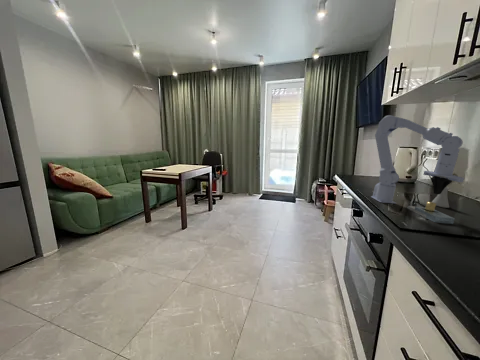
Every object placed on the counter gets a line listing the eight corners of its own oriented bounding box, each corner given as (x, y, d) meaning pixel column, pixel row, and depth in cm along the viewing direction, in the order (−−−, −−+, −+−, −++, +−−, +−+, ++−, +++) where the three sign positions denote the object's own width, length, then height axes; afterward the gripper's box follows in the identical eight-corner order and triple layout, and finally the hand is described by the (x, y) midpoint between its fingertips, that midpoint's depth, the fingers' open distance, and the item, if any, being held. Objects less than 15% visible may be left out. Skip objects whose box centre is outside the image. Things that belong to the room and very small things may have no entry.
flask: (433, 206, 103) (438, 187, 101) (428, 202, 110) (433, 184, 107) (452, 209, 100) (458, 190, 98) (445, 205, 107) (451, 187, 104)
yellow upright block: (421, 213, 91) (425, 201, 90) (428, 214, 91) (432, 201, 90) (427, 216, 88) (431, 203, 87) (434, 217, 88) (438, 204, 87)
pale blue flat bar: (407, 208, 98) (408, 203, 97) (422, 209, 97) (423, 204, 97) (434, 222, 82) (436, 216, 82) (453, 223, 82) (454, 218, 81)
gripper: (421, 161, 94) (413, 189, 97) (457, 166, 80) (447, 198, 83) (434, 161, 95) (426, 189, 98) (472, 167, 81) (461, 199, 84)
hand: (436, 193), depth 90 cm, fingers closed
